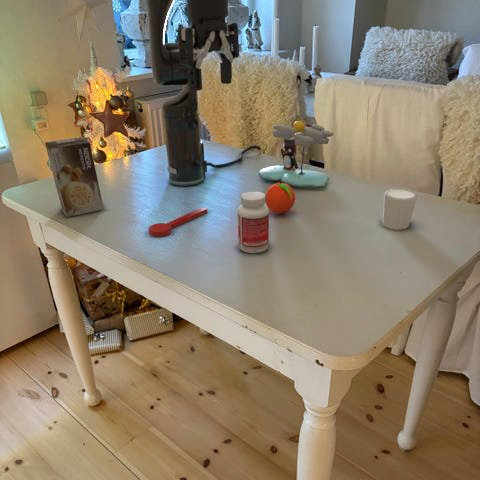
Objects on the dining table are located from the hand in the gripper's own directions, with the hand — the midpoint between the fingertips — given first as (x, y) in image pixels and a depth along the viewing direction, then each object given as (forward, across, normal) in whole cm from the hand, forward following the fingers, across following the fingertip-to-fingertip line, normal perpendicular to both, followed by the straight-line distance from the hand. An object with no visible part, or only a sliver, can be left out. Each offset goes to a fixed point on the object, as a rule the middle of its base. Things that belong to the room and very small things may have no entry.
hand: (212, 86), depth 96 cm
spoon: (+28, -7, +6) cm, 30 cm away
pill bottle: (+28, -6, -15) cm, 33 cm away
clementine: (+28, +12, -9) cm, 32 cm away
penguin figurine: (+28, +32, +1) cm, 43 cm away
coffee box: (+28, -15, +31) cm, 45 cm away
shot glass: (+28, +22, -33) cm, 49 cm away
